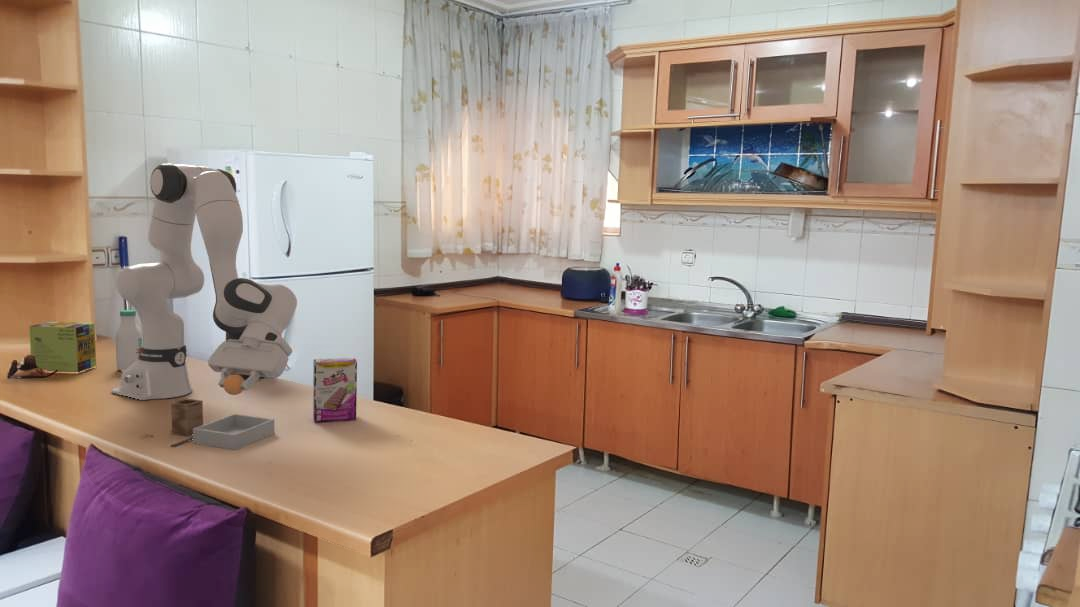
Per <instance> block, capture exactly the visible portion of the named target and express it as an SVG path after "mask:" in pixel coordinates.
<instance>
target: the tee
mask: <svg viewBox="0 0 1080 607" xmlns="http://www.w3.org/2000/svg"><path fill="white" fill-rule="evenodd" d="M203 407H204V406H203V400H199V399H195V398H184V399H181V400H177V401H174V402H171V403H170V410H171V412H170V413H171V435H172V434H173V435H176V434H179V435H178V436H182V435H186V436H185V437H190V436H189V435H191V436H193V435H192V434H193V428H196V427H199V426H202V425H204V416H203V415H204V413H203V412H204V410H203V409H204V408H203Z"/></svg>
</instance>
